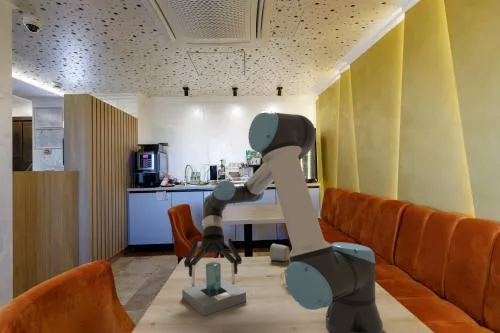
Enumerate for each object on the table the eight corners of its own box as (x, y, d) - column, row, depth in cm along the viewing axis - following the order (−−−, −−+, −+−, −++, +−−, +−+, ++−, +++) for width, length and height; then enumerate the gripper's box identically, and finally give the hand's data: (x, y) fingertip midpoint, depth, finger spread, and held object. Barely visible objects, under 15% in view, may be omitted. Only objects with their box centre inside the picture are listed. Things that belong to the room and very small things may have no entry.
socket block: (246, 301, 100) (246, 291, 100) (203, 316, 91) (203, 305, 91) (221, 286, 113) (221, 278, 113) (182, 297, 104) (182, 289, 104)
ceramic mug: (286, 263, 138) (285, 247, 138) (269, 261, 141) (269, 245, 141) (291, 257, 148) (291, 241, 148) (276, 255, 151) (275, 240, 151)
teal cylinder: (223, 299, 102) (223, 265, 102) (211, 304, 99) (210, 268, 99) (216, 294, 106) (215, 261, 106) (204, 298, 103) (203, 264, 103)
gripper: (244, 233, 119) (249, 286, 104) (181, 236, 116) (176, 291, 101) (245, 223, 113) (251, 276, 99) (179, 225, 111) (174, 281, 96)
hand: (213, 284), depth 100 cm, fingers open, 13 cm apart
